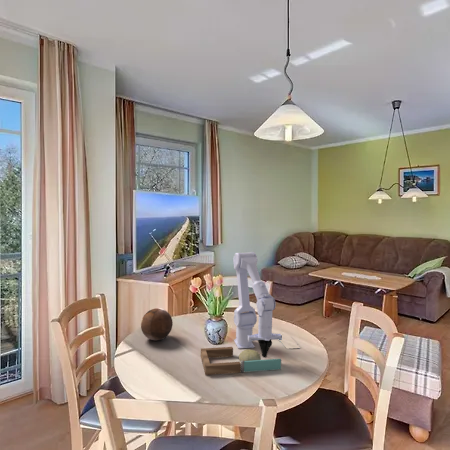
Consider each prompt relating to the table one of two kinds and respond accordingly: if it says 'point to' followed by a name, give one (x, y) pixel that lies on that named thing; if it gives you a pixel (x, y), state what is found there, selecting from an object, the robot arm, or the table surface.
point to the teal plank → (260, 365)
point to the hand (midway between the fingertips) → (264, 356)
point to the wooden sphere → (156, 324)
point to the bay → (219, 367)
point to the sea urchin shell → (249, 355)
